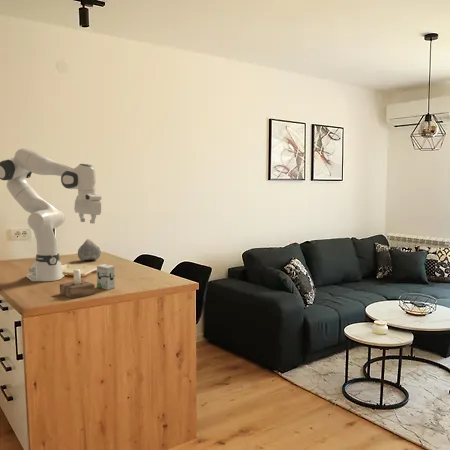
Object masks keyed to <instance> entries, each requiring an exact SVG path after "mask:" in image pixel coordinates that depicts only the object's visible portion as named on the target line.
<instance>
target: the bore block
mask: <svg viewBox="0 0 450 450" xmlns="http://www.w3.org/2000/svg"><path fill="white" fill-rule="evenodd" d="M95 289H96V288H95V283H92V282H89V281H86V280H83V279H81V285H76V286H75V285H74V280H73V281H69V282H64V283H59V295H62V296H65V297H68V298H70V299H77V298H81V297H87V296H91V295H95V293H96V291H95Z"/></svg>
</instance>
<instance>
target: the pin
mask: <svg viewBox="0 0 450 450" xmlns="http://www.w3.org/2000/svg"><path fill="white" fill-rule="evenodd" d="M81 274H82V273H81V269H80V268H79V269H73V281H74V285H75V286H76V285H81V280H82V279H81V277H82V276H81Z"/></svg>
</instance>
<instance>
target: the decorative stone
mask: <svg viewBox="0 0 450 450" xmlns="http://www.w3.org/2000/svg"><path fill="white" fill-rule="evenodd" d="M101 254H102V253H101V249H100V247H99V245H97V244H96V243H95V242H94V241H93V240H91V239H88V238H87V239H86V240H85V241H84V242H83V243H82V245H80V246H79V248H78V249H77V258H78V259H79V260H81V261H83V262H84V261H96V260H98V259H99V258H100V257H101Z"/></svg>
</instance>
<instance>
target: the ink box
mask: <svg viewBox="0 0 450 450" xmlns="http://www.w3.org/2000/svg"><path fill="white" fill-rule="evenodd" d="M115 270H116V269H115V266H114V265H111V264H106V263H105V264H104V263H102V264H98V265H97V266H96V288H98V289H102V290H107V291H108V290H112V289H113V290H114V289H115V287H116V286H115V285H116V283H115V282H116V281H115V278H116V276H115V273H116V272H115Z"/></svg>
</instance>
